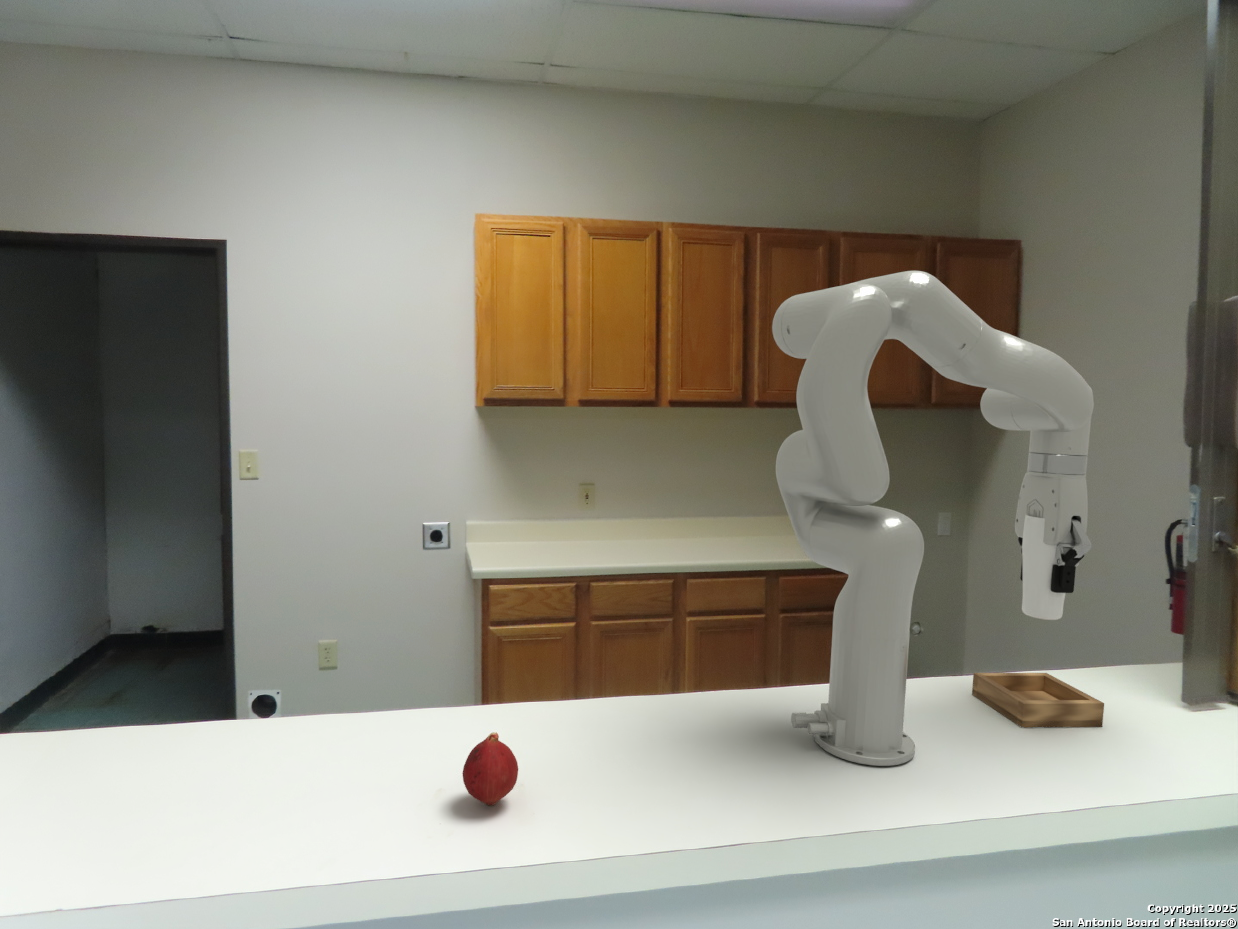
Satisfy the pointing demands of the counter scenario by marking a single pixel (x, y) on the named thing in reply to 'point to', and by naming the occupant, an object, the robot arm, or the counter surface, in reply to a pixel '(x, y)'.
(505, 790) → the onion
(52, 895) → the counter surface
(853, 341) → the robot arm
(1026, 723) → the tray
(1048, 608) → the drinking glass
